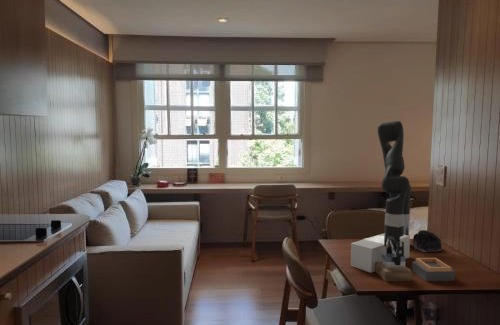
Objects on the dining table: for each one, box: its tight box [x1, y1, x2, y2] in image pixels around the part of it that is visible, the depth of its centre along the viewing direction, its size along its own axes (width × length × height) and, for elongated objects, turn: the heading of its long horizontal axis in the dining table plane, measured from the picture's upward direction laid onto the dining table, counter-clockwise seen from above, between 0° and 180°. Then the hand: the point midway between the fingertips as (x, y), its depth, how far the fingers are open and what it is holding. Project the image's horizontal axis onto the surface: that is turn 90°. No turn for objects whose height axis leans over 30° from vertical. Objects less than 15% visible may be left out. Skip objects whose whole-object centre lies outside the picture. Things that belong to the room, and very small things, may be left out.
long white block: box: [350, 233, 411, 273], centre depth 175 cm, size 32×11×11 cm, turn 128°
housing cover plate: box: [382, 253, 407, 263], centre depth 156 cm, size 5×8×2 cm, turn 92°
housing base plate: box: [382, 259, 406, 269], centre depth 157 cm, size 5×8×3 cm, turn 92°
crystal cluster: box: [412, 229, 443, 253], centre depth 193 cm, size 14×14×10 cm
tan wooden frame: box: [411, 257, 456, 282], centre depth 157 cm, size 12×12×6 cm
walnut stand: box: [374, 262, 413, 282], centre depth 157 cm, size 11×11×4 cm
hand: (393, 261), depth 157 cm, fingers open, 8 cm apart
